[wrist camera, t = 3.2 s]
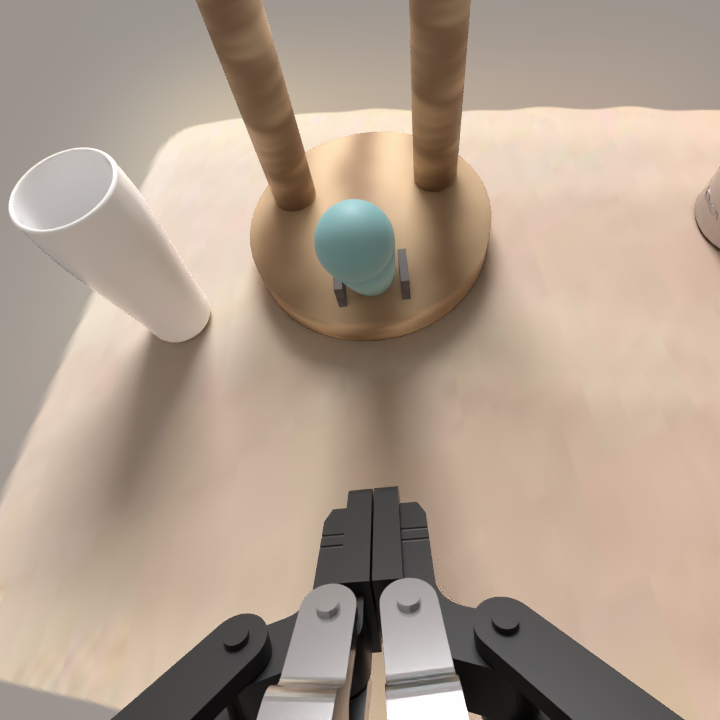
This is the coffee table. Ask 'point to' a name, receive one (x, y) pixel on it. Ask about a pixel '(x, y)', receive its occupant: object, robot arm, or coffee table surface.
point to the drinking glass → (109, 240)
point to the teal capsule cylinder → (357, 246)
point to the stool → (362, 179)
